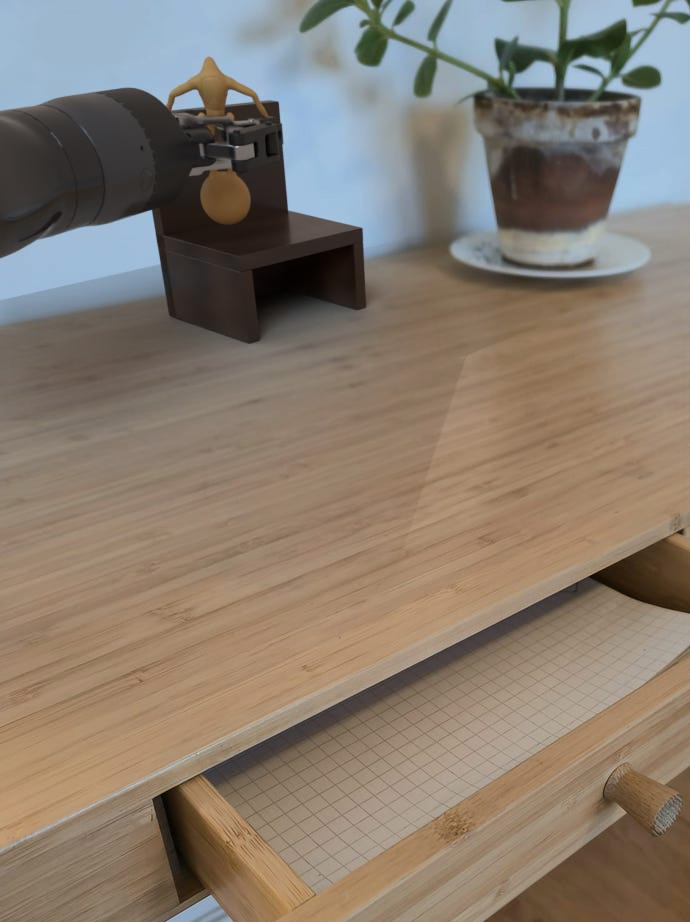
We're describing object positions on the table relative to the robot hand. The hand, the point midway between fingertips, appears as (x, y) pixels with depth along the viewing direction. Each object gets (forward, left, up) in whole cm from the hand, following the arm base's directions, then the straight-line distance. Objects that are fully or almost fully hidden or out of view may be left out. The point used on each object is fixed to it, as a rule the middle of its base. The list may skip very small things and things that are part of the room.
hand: (234, 127), depth 76 cm
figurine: (+1, -2, -7) cm, 8 cm away
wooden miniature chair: (-1, +3, -15) cm, 16 cm away
